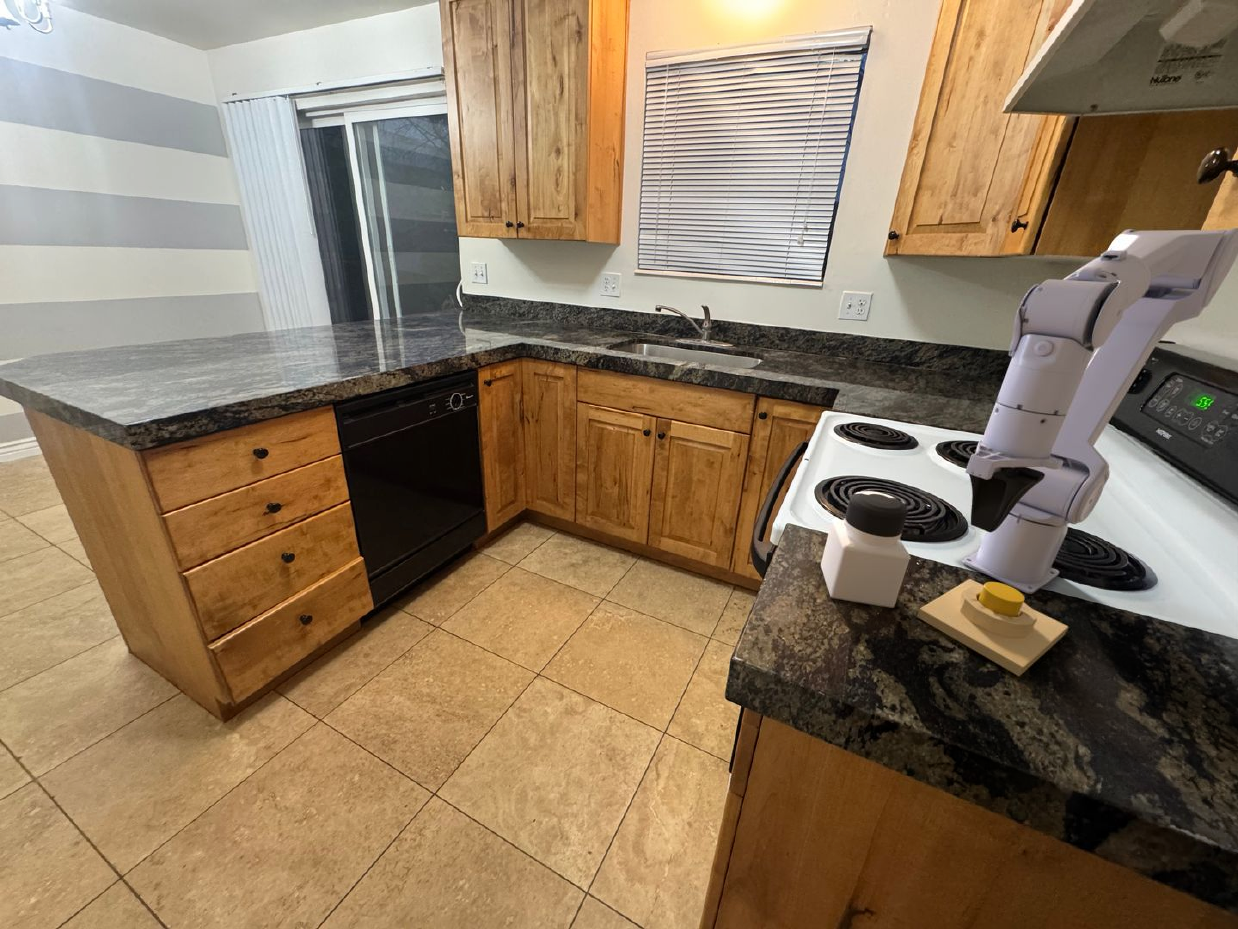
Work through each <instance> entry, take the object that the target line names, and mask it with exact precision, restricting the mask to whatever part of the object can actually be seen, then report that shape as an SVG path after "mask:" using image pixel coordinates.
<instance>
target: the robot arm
mask: <svg viewBox="0 0 1238 929" xmlns="http://www.w3.org/2000/svg"><path fill="white" fill-rule="evenodd" d="M1237 257H1238V227H1231V228H1228V229H1188V230H1187V229H1185V230H1183V229H1181V230H1179V229H1178V230H1175V229H1174V230H1170V229H1169V230H1135V229H1134V228H1129V229H1125V230H1123V231H1122V232H1121V233H1120V234H1118V235H1116V237H1115V238H1114V240H1113V241H1112V242H1111V244H1110V245H1109V247H1108V249H1107V250H1105V251H1104V252H1103V253H1101V254H1100V256H1098V257H1097V258H1094V259H1092V260H1091V261H1089V262H1088V263H1086V264H1085V265H1083V266H1081V267H1080V268H1078V269H1077V270H1075V271H1074V272H1072V273H1071V274H1069V275H1067V276H1066V277H1064V278H1063V279H1055V278H1054V279H1053V278H1052V279H1051V278H1048V279H1045V280H1044V281H1043V282H1042V283H1041V284H1039V283H1037V284H1034V285H1032V286H1031V287H1030V288H1029V289H1028V290H1027V292H1026V294H1025V295H1024V297H1023V298H1022V300H1021V302H1020V305H1019V307H1017V311H1016V313H1015V316H1014V317H1015V318H1014V323H1013V335H1012V339H1011V342H1010V345H1009V348H1008V356H1009V357H1011V360H1010V362H1009V365H1008V368H1007V370H1006V373H1005V376H1004V379H1003V382H1002V383H1001V387H1000V389H999V392H998V394H997V397H996V400H995V403H994V406H993V409H992V412H991V414H990V416H989V420H988V422H987V425H986V428H985V431H984V433H983V436H982V439H981V440H979V441H978V444H977V445H976V449H975V452H974V453H973V454H971V455H970V458H969V460H968V462H967V466H966V469H965V471H964V473H966V474H968V475H969V476H968V477H969V480H970V485H971V507H970V508H971V509H970V510H971V511H970V525H971V526H972V527H975V528H977V529H980V530H983V531H984V532H985V534H984V536H983V538H982V541H981V544H980V545H979V549H978V551H977V552H974V553H973V554H971V555H969V556H967V557H965V558H964V559H962V564H964V565H965V566H967V567H969V568H972V569H973V570H976V571H978V572H980V573H981V574H984V575H987V576H988V577H991V578H993V579H995V580H998V581H1000V583H1003V584H1005V585H1008V586H1010V587H1012V588H1014V589H1016V590H1018V591H1021V592H1023V593H1025V594H1027V595H1032V594H1034V593H1036V592H1037V591H1038V590H1039V589H1041V588H1042V587H1044V586H1045V585H1046V584H1048V583H1049V582H1050V581H1052V580H1053V579H1055V578H1056V577H1058V575H1060V570H1058V569H1056V568H1053V564H1054V561H1055V559H1056V557H1057V555H1058V554H1059V551H1060V549H1061V547H1062V544H1063V542H1064V540H1065V538H1066V536H1067V533H1068V529H1069V528H1068V526H1069V524H1072V525H1077V524H1079V523H1082V522H1084V521H1085V520H1087V518H1088V517H1089V516H1090V515H1091V513H1092V512H1093V510H1094V509H1095V507H1096V505H1097V503H1099V500H1100V498H1101V496H1102V493H1103V491H1104V487H1105V486H1106V484H1107V482H1108V480H1109V478H1110V473H1111V471H1110V465H1109V462H1108V461H1107V460H1106V458H1104V456H1103V455H1102V454H1101V453H1100V451H1098V450H1097V448H1096V447H1095V445H1096V443H1097V442H1098V439H1099V438H1100V436H1101V435H1102V433H1103V431H1104V430H1105V428H1106V427H1107V425H1108V423H1109V422H1110V420H1111V419H1112V417H1113V416H1114V414H1115V412H1116V411H1117V409H1118V408H1119V406H1120V404H1121V402H1122V401H1123V400H1124V397H1125V396H1126V394H1127V393H1128V391H1129V389H1130V388H1131V386H1132V385H1133V383H1134V381H1135V380H1136V379H1137V377H1138V375H1139V374H1140V372H1141V371H1142V369H1143V367H1144V365H1145V364H1146V362H1147V361H1148V359H1149V357H1150V355H1151V354H1152V353H1153V351H1154V349H1155V348H1156V347H1157V345H1158V343H1159V342H1160V341H1161V340H1162V339H1163V338H1164V336H1165V335H1166V334H1167V333H1168V332H1169V330H1171V328H1172V327H1173V326H1174V325H1175V324H1179V323H1182V322H1184V321H1188V320H1192V319H1195V318H1198V317H1199V316H1200V315H1201V313H1202V312H1203V310H1204V309H1205V308H1207V307H1208V306H1209V305H1210V303H1211V301H1212V300H1213V298H1214V297H1215V295H1216V294H1217V292H1218V290H1219V289H1220V287H1221V286H1222V284H1223V283H1224V282H1225V280H1226V277H1227V276H1228V274H1229V273H1230V271H1231V269H1232V267H1233V265H1234V263H1235V261H1236V259H1237ZM1094 351H1095V352H1094Z"/></svg>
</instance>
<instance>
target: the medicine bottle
mask: <svg viewBox="0 0 1238 929" xmlns="http://www.w3.org/2000/svg"><path fill="white" fill-rule="evenodd" d="M908 514H909V509H908V508H907V506H906V505H905V503H904V502H902V501H900V500H899V499H897V498H896V497H894V496H892V495H890V494H886V493H884V492H879V491H870V490H869V491H868V490H867V491H865V490H864V491H857V492H855V493H853V494H851V495H850V496H849V501H848V504H847V509H846V512H845V516H844V519H840V518H833V519H832V520H831V521H830V527H829V530H828V533H827V539H826V543H825V546H824V549H823V554H822V558H821V562H820V568H821V571H822V575H823V578H824V581H825V585H826V587H827V591H828V595H829V597H830V598H831V599H834V600H841V601H847V602H851V603H859V604H864V605H865V604H866V605H872V606H878V607H883V608H890V609H893V608H895V607H896V604H897V601H898V597H899V595H900V592H901V589H902V586H903V582H904V579H905V577H906V574H907V571H908V568H909V564H910V563H911V562H910V561H911V559H912V558H911V555H910V553H909V552H908V550H907V549H906V547H905V545H904V544H903V542H902V541H901V537H902V533H903V530H904V527H905V523H906V520H907V517H908Z"/></svg>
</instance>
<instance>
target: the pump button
mask: <svg viewBox="0 0 1238 929" xmlns="http://www.w3.org/2000/svg"><path fill="white" fill-rule="evenodd" d="M983 585H984V587H983V589H982V592H981V594H980V597H979V599H978V600H979V603H981V604H982V605H983V606H984V607H985V608H987V609H989V610H991V611H993V612H995V613H998V614H1001V615H1005V616H1008V617H1016V616H1017V615H1018V614H1019V611H1020V609H1021V607H1022V605H1023V602H1024V603H1025V598H1026V597H1025V596H1024V594H1023V593H1021V592H1020V590H1019V589H1016V588H1014V587H1012V586H1010V585H1008V584H1006V583H1003V582H997V581H988V582H987V581H986V582H985V583H984V584H983Z"/></svg>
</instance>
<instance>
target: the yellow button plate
mask: <svg viewBox="0 0 1238 929" xmlns="http://www.w3.org/2000/svg"><path fill="white" fill-rule="evenodd" d="M983 587H984V584H981V583H979V582H977V581H976V580H973V579H971V578H969V579H967V580H966V581H963V582H962V583H960V584H959V585H957V586H956V587H953V588H952V589H950V590H948V591H947V592H945V593H944V594H942V595H939V597H937V598H935V599H933V600H931V601H930V602H928V603H927V604H925V605H923V606H922V607H920V608H918V613H917V615H916V618H917V619H920V620H922V621H923V622H924V623H926V624H928V625H930V626H931V627H933V628H935V629H937V630H939V631H940V632H942V633H944V634H946V635H948V636H949V637H950V638H952V639H953V640H956V641H958V642H959V643H961V644H963V645H964V646H966V647H968V648H969V649H970V650H973V651H975V652H976V653H978V654H979V655H982V656H983V657H985V658H986V659H989V660H990V661H992V662H994V663H995V664H997V665H999V666H1001V667H1002V668H1004V669H1006V670H1007V671H1009V672H1011V673H1012V674H1015V676H1018V677H1020V676H1021V675H1023V673H1025V672H1026V671H1027V670H1028V669H1029V668H1031V666H1032V665H1033V664H1035V663H1036V662H1037V661H1038V660H1039V659H1040V658H1041V657H1042V656H1044V655H1045V654H1046V653H1047V652H1048V651H1049V650H1050V649H1051V648H1053V647H1054V645H1056V643H1058V641H1060V640H1061V639H1062V638H1063V637H1064V636H1065V635H1066V634H1067V631H1068V630H1069V626H1068V625H1066V624H1064V623H1062V622H1061V621H1058V620H1056V619H1054V618H1052V617H1049V616H1048V615H1046V614H1044V613H1042V612H1040V611H1038V610H1035V609H1034V608H1032V607H1030V606H1029V605H1028V604H1027V603H1026V602H1025V601H1024V602H1023V605H1022V607H1021V609H1020V611H1019V614H1018V615H1017V616H1016V617H1008V616H1005V615H1001V614H998V613H995V612H993V611H991V610H989V609H987V608H985V607H984V606H983V605H982V604H981V603H979V600H978V599H979V597H980V594H981V592H982V589H983Z"/></svg>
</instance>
